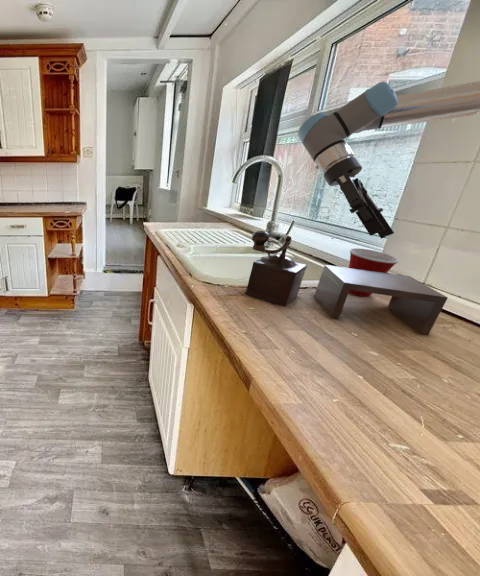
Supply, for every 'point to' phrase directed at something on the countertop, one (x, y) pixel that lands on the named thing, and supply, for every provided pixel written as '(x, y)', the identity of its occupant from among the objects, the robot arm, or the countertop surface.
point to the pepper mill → (274, 273)
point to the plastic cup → (370, 263)
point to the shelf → (404, 290)
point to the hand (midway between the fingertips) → (382, 234)
